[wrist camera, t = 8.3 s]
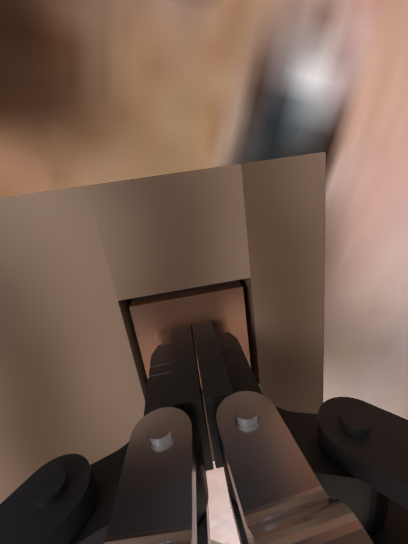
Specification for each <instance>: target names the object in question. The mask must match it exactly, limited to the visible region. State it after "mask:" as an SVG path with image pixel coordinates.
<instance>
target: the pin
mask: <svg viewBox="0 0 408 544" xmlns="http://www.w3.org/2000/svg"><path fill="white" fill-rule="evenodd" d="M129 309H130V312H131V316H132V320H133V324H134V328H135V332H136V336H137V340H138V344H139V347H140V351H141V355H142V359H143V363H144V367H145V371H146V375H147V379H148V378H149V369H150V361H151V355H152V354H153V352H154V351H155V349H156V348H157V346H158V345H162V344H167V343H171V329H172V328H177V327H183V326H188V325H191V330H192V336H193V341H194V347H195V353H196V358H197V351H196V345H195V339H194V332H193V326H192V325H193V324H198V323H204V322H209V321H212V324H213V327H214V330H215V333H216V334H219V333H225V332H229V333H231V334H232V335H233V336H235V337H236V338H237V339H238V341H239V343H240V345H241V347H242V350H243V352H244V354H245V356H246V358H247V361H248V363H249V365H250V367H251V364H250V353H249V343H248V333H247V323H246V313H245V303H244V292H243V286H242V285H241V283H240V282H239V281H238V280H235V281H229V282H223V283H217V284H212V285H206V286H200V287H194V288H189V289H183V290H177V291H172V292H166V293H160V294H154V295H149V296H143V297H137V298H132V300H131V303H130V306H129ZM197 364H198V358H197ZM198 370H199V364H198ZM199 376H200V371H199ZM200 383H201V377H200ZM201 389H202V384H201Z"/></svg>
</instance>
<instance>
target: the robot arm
mask: <svg viewBox="0 0 408 544" xmlns="http://www.w3.org/2000/svg"><path fill="white" fill-rule="evenodd" d="M192 326H193V332H194V339H195V345H196V351H197V358H198V364H199V370H198V364H197V358H196V353H195V347H194V341H193V336H192V330H191V325H188V326H183V327H177V328H172V329H171V343H167V344H162V345H158V346H157V348H156V349H155V351H154V352H153V354H152V355H151V361H150V369H149V378H148V385H147V393H146V401H145V409H144V417H143V418H142V419H141V420H140V421H139V422H138V423H137V424H136V426H135V427H134V429H133V431H132V433H131V436H130V440H129V442H128V443H127V444H126V445H124V446H123V447H122V448H120V449H119V450H117V451H115V452H114V453H112V454H110V455H108V456H106V457H104V458H102V459H100V460H99V461H97V462H95V463H93V464H91V465H90V464H89V462H88V460H87V459H86V458H85V457H84V456H82V455H79V454H66V455H62V456H59V457H57V458H55V459H53V460H51V461H49V462H48V463H46V464H45V465H43V466H42V467H40V468H39V469H38V470H37V471H36V472H34V473H33V474H32V475H31V476H30V477H29V478H28V479H27V480H26V481H25V482H24V483H22V484H21V485H20V486H19V487H18V488H17V489H16V490H15V491H14V492H13V493H12V494H11V495H10V496H8V497H7V498H6V499H5V500H4V501H3V502H2V503H1V504H0V544H211V543H210V525H209V508H208V486H207V478H206V471H207V470H212V469H213V462H212V455H211V449H210V442H209V436H208V429H207V422H206V416H205V409H204V402H205V408H206V414H207V419H208V425H209V430H210V436H211V442H212V447H213V453H214V459H215V464H216V468H220V467H224V471H225V477H226V482H227V487H228V493H229V499H230V505H231V509H232V512H233V516H234V520H235V524H236V528H237V532H238V536H239V540H240V544H408V420H406V419H404V418H401V417H399V416H397V415H394V414H392V413H390V412H387V411H385V410H383V409H380V408H378V407H376V406H373V405H371V404H369V403H366V402H364V401H361V400H358V399H355V398H349V397H335V398H332V399H329V400H327V401H325V402H324V403H323V404H322V405H321V406H320V408H319V410H318V414H311V413H299V412H291V411H287V410H284V409H281V408H279V407H277V406H275V405H274V404H273V403H272V402H271V401H270V400H269V399H268V398H267V397H265V396H264V395H263V394H262V392H261V390H260V387H259V385H258V383H257V381H256V379H255V376H254V374H253V372H252V370H251V367H250V365H249V363H248V361H247V358H246V356H245V354H244V352H243V350H242V347H241V345H240V343H239V341H238V339H237V338H236V337H235V336H233V335H232V334H231V333H229V332H225V333H219V334H216V333H215V330H214V327H213V324H212V321H209V322H204V323H198V324H193V325H192ZM199 371H200V376H199ZM200 377H201V383H200ZM201 384H202V389H201ZM202 390H203V396H204V402H203V396H202Z"/></svg>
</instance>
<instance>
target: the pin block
mask: <svg viewBox="0 0 408 544" xmlns="http://www.w3.org/2000/svg"><path fill="white" fill-rule="evenodd" d="M325 162H326V152H320V153H313V154H306V155H299V156H292V157H285V158H278V159H271V160H264V161H257V162H250V163H243V164H236V165H229V166H222V167H215V168H208V169H201V170H194V171H187V172H180V173H173V174H166V175H159V176H152V177H145V178H138V179H131V180H124V181H117V182H110V183H103V184H96V185H89V186H82V187H75V188H68V189H61V190H54V191H47V192H40V193H33V194H26V195H19V196H12V197H5V198H0V504H1V503H2V502H3V501H4V500H5V499H6V498H7V497H8V496H10V495H11V494H12V493H13V492H14V491H15V490H16V489H17V488H18V487H19V486H20V485H21V484H22V483H24V482H25V481H26V480H27V479H28V478H29V477H30V476H31V475H32V474H33V473H34V472H36V471H37V470H38V469H39V468H40V467H42V466H43V465H45V464H46V463H48V462H49V461H51V460H53V459H55V458H57V457H59V456H62V455H66V454H79V455H82V456H84V457H85V458H86V459H87V460H88V462H89V464H90V465H91V464H93V463H95V462H97V461H99V460H100V459H102V458H104V457H106V456H108V455H110V454H112V453H114V452H115V451H117V450H119V449H120V448H122V447H123V446H124V445H126V444H127V443H128V442H129V440H130V436H131V433H132V431H133V429H134V427H135V426H136V424H137V423H138V422H139V421H140V420H141V419H142V418H143V417H144V409H145V401H146V393H147V385H148V379H147V375H146V371H145V367H144V363H143V359H142V355H141V351H140V347H139V344H138V340H137V336H136V332H135V328H134V324H133V320H132V316H131V312H130V309H129V306H130V303H131V300H132V298H137V297H143V296H149V295H154V294H160V293H166V292H172V291H177V290H183V289H189V288H194V287H200V286H206V285H212V284H217V283H223V282H229V281H235V280H238V281H239V282H240V283H241V285H242V286H243V292H244V303H245V313H246V323H247V333H248V343H249V353H250V364H251V370H252V372H253V374H254V376H255V379H256V381H257V383H258V385H259V387H260V390H261V392H262V394H263V395H264V396H265V397H267V398H268V399H269V400H270V401H271V402H272V403H273V404H274V405H275V406H277V407H279V408H281V409H284V410H287V411H291V412H299V413H311V414H318V410H319V408H320V406H321V405H322V404H323V354H324V258H325ZM202 396H203V390H202ZM203 402H204V396H203ZM204 409H205V416H206V422H207V429H208V436H209V442H210V449H211V455H212V461H215V459H214V453H213V447H212V442H211V436H210V430H209V425H208V419H207V414H206V408H205V402H204Z"/></svg>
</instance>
